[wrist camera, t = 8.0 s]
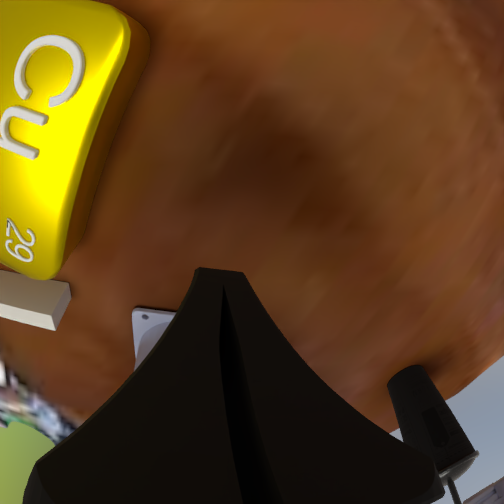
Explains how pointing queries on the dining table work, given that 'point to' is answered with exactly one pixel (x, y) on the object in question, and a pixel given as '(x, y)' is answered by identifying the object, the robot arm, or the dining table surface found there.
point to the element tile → (59, 120)
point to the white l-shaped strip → (33, 299)
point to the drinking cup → (431, 425)
